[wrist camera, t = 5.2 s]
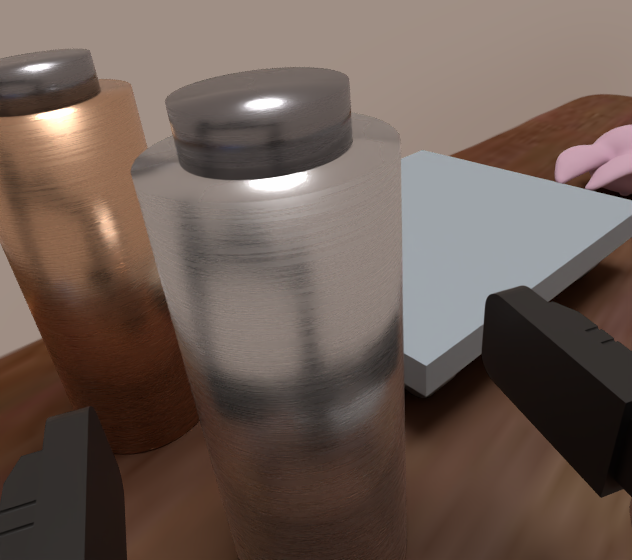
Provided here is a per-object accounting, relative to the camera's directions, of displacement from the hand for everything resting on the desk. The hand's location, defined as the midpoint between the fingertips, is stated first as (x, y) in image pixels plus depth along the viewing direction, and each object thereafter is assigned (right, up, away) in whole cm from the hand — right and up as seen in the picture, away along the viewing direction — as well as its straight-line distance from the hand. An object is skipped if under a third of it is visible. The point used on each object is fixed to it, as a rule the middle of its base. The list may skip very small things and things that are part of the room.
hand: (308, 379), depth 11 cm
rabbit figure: (+18, +7, +21) cm, 29 cm away
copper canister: (-6, -3, +9) cm, 12 cm away
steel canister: (0, -5, +4) cm, 7 cm away
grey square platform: (+5, +2, +14) cm, 15 cm away
